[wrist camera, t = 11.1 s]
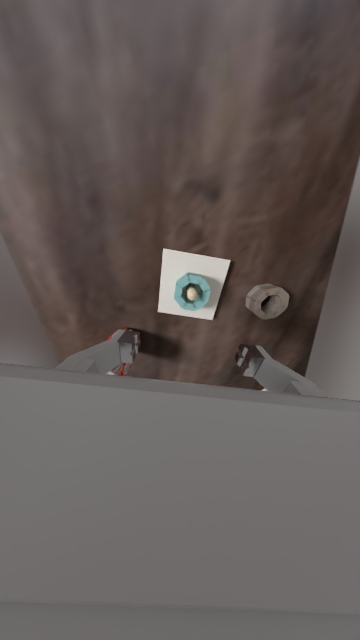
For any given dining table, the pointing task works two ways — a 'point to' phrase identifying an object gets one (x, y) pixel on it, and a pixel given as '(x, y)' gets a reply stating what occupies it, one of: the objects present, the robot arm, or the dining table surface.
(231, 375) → the dining table surface
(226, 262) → the post stand
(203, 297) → the teal ring
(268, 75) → the dining table surface
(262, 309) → the grey ring
